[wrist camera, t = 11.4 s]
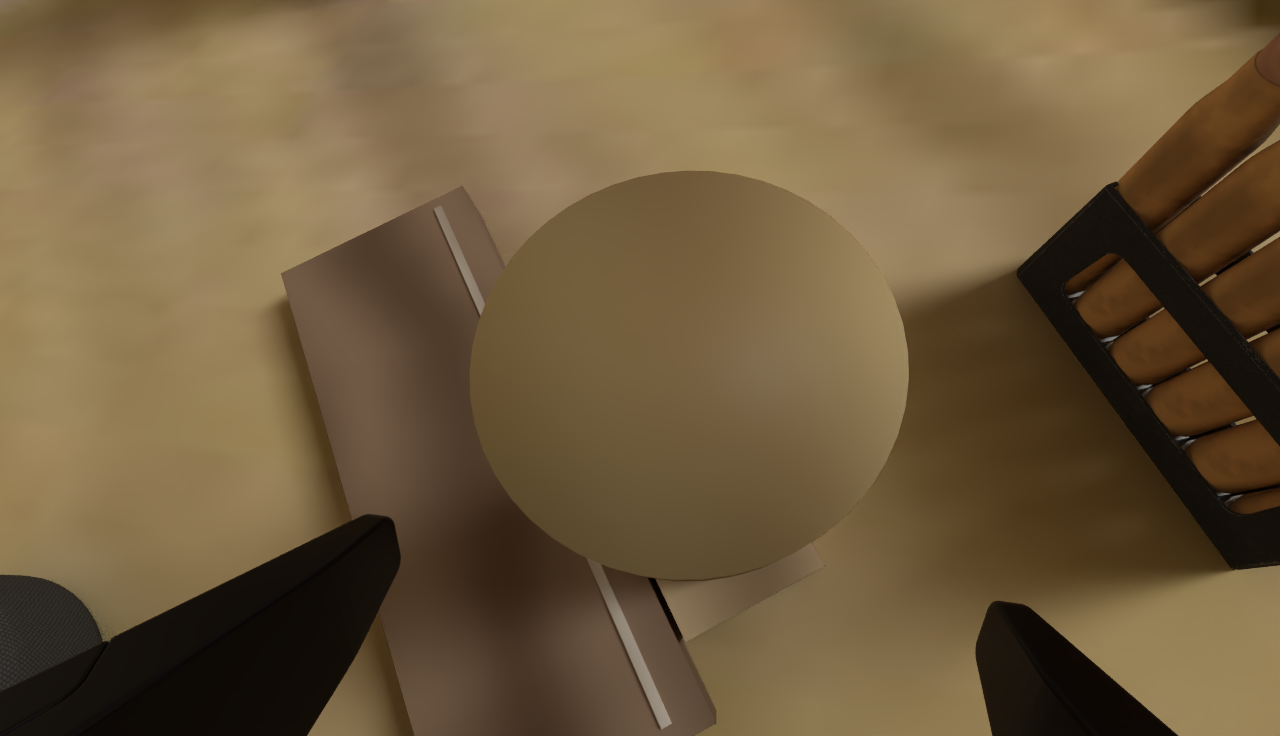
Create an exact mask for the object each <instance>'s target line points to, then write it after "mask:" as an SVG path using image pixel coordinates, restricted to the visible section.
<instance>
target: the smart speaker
mask: <svg viewBox="0 0 1280 736" xmlns="http://www.w3.org/2000/svg"><path fill="white" fill-rule="evenodd" d="M100 643H102V638H101V635H100V632H99V629H98V627H97V625H96V622H95V620H94V619H93V617H92V615H91V614H90V612H89V610H88V609H87V608H86V607H85V605H84V604H83V603H82V602H81V601H80V600H79V599H78V598H77V597H76V596H75V595H74V594H73V593H71V592H70V591H68V590H67V589H65V588H64V587H62V586H60V585H58V584H56V583H54V582H52V581H49V580H45V579H42V578H36V577H30V576H20V575H0V691H1V690H3V689H5V688H7V687H10V686H12V685H14V684H16V683H19V682H21V681H23V680H25V679H27V678H29V677H31V676H34V675H36V674H38V673H40V672H42V671H44V670H46V669H48V668H50V667H53V666H55V665H57V664H59V663H61V662H63V661H65V660H67V659H69V658H72V657H74V656H76V655H78V654H80V653H82V652H84V651H86V650H88V649H90V648H92V647H94V646H96V645H98V644H100Z"/></svg>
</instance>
